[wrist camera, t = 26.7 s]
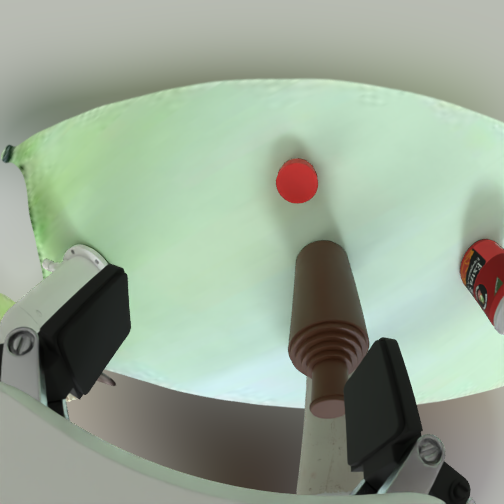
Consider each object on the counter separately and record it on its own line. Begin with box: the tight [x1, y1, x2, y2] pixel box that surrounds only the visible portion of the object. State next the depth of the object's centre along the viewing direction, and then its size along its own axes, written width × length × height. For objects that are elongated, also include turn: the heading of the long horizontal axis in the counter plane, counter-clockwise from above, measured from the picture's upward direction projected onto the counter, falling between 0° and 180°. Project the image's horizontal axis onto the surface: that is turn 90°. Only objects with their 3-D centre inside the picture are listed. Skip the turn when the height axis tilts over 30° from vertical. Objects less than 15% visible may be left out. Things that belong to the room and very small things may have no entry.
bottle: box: [288, 240, 369, 419], centre depth 23 cm, size 6×6×20 cm
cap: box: [276, 158, 318, 203], centre depth 26 cm, size 4×4×4 cm
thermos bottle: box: [296, 370, 364, 496], centre depth 27 cm, size 8×8×28 cm
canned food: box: [460, 239, 504, 335], centre depth 22 cm, size 8×8×11 cm
